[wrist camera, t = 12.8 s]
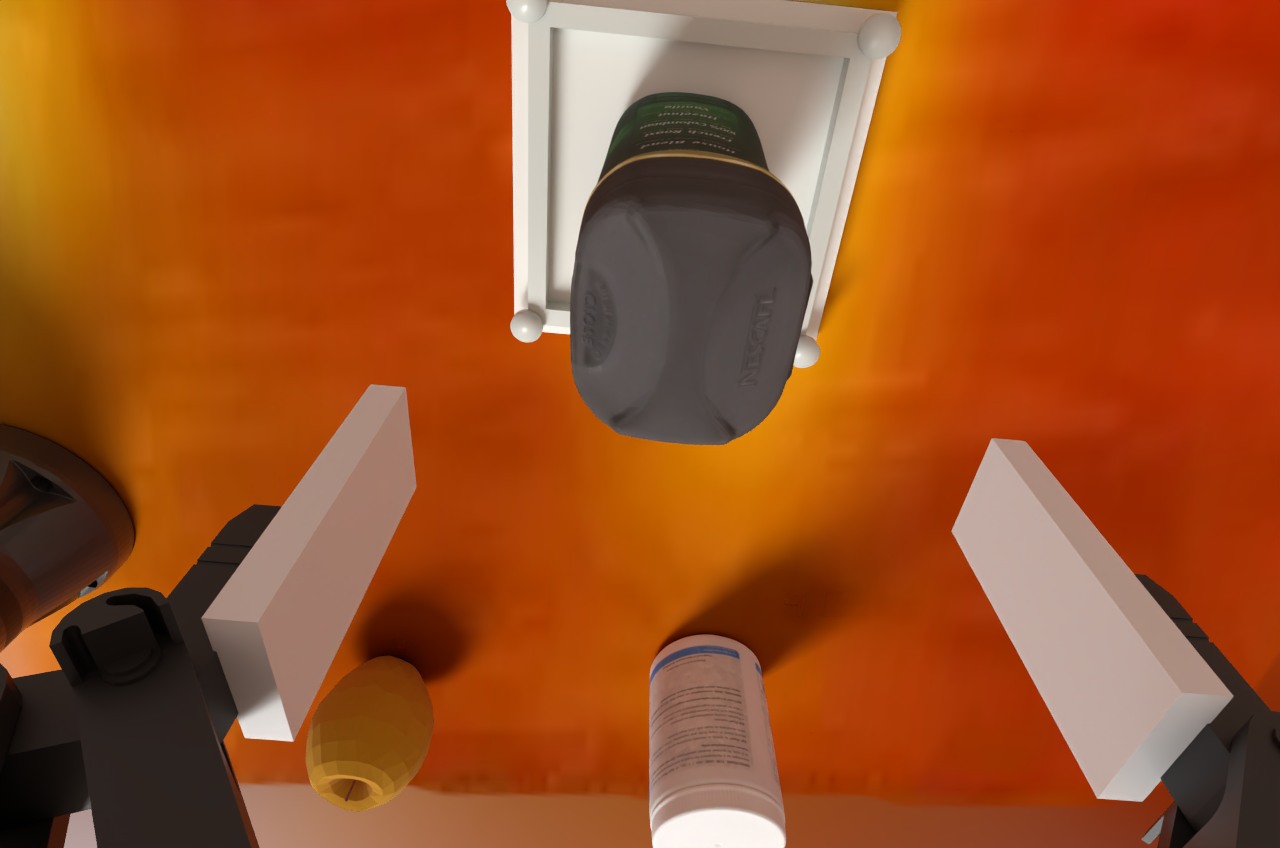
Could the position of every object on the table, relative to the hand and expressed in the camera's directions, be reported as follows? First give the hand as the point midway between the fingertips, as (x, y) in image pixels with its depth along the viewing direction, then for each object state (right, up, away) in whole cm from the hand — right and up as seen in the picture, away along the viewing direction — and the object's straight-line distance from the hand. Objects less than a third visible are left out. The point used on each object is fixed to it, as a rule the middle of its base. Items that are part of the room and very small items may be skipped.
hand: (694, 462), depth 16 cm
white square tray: (+1, +14, +22) cm, 26 cm away
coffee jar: (+1, +13, +21) cm, 25 cm away
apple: (-23, -21, +46) cm, 55 cm away
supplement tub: (+4, -20, +44) cm, 49 cm away
